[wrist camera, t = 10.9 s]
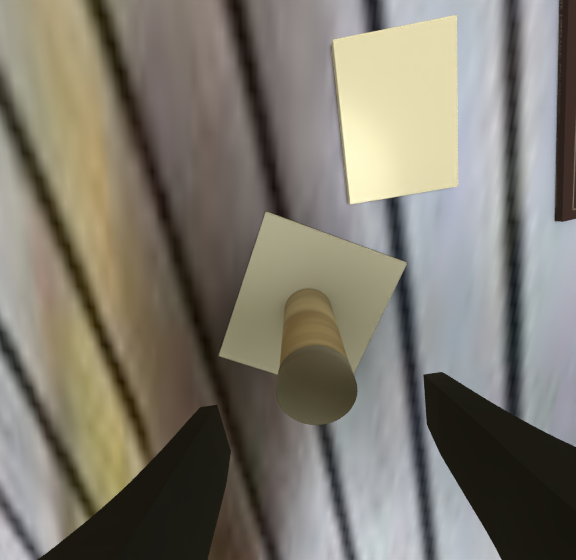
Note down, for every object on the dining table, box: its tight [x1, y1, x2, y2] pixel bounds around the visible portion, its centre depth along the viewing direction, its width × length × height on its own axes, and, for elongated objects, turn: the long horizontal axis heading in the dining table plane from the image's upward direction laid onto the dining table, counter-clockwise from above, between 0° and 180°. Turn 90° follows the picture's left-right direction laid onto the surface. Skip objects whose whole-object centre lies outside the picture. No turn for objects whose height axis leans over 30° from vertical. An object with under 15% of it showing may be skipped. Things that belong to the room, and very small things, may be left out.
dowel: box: [276, 288, 357, 425], centre depth 15 cm, size 3×3×8 cm
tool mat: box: [219, 211, 407, 375], centre depth 20 cm, size 10×9×1 cm
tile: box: [331, 15, 458, 204], centre depth 17 cm, size 1×6×8 cm
